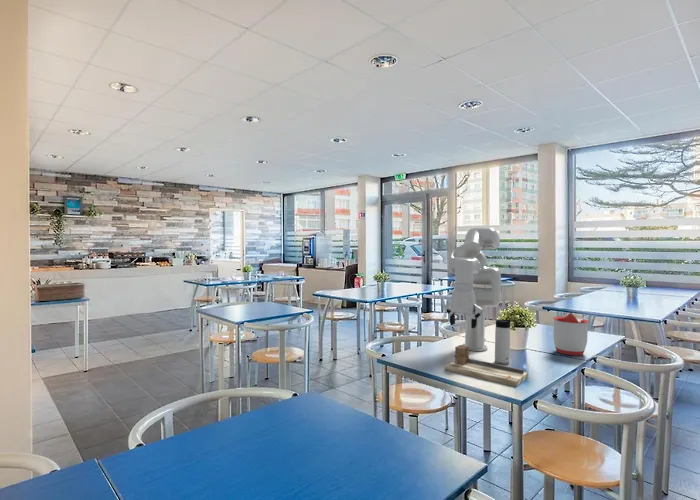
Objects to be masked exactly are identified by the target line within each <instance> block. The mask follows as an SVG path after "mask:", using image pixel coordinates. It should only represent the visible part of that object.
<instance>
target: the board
mask: <svg viewBox="0 0 700 500" xmlns="http://www.w3.org/2000/svg"><path fill="white" fill-rule="evenodd" d="M447 370H448V371H449V372H451V371H452V373H456V374H461V375H465V376H469V377H475V378H478V379H482V380H486V381H491V382H494V383H500V384H504V385H508V386H512V387H515V388H516V387H519V386H520V384H522V383H523V382H524V381H525V380H527V378H529V373H528V372H525V371H524V369H522V368H517V367H512V366H508V365H500V364H497V363H494V362H493V363H492V362H488V361H483V360H477V359H474V358H469V362H468V363H466V364H464V365H462V364H456V363H455V360H453V361H451V362H449V363H447V364H445V365H444V371H447Z"/></svg>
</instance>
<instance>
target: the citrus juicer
mask: <svg viewBox="0 0 700 500" xmlns="http://www.w3.org/2000/svg"><path fill="white" fill-rule="evenodd" d="M552 319H553V344H554V348H555V351H556V352H557V353H558V352H559V354H562V355H566V354H567V356H571V355H575V356H583V354H584V353H585V352H586V347H587V344H588V333H589V332H588V330H589V324H588V323H589V320H588V319H585V318H583V319H581V320H580V321H578V319H577V317H576V316H574V314H573V313H569V314H567V315H565V316H554V317H553V318H552Z"/></svg>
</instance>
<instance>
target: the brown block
mask: <svg viewBox="0 0 700 500" xmlns="http://www.w3.org/2000/svg"><path fill="white" fill-rule="evenodd" d="M469 351H470V350H469V346H464V345H462V344H460V345H457V346H455V349H454V353H455V354H454V361H455V363H456V364H462V365H464V364H466V363H468V362H469V359H470V357H469V356H470V355H469V354H470V353H469Z"/></svg>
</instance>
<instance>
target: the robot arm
mask: <svg viewBox="0 0 700 500" xmlns="http://www.w3.org/2000/svg"><path fill="white" fill-rule="evenodd" d="M500 243H501V239H500V236H499V233H498V231H497V230H496V229H495V228H493V227H472V228H470V229H469V230H468V231H467V232H466V235H465V237H464V241H463V244H461V245H459V246H458V247H456V248H454V249H453V250H452V251H451V253H450V254H449V258H448V261H447V270H448V272H449V273H451V274H454V275H455V276H454V283H452V284H451V286H452V287H454V289H453V290H452V291H451V292H452V293H451V299H450V302H449V303H447V304H444V308H445V310H446V311H445V312H446V313H448V316H449V324H450V326H453V325H455V324H456V316H455V314H462V315H465V332H464V333H465V335H464V343H463V344H461V345H464V346H469V351H471V352H472V351H473V352H485V351H487V350H488V346H487V345H485V342H486V341H487V340H486V338H485V330H486V329H485V327H486V322H485V321H486V315H485V312H484V309H483V308H482V307H487V308H497V307H499V305H500V302H501V288H502V287H501V285H502V274H501V270H500V268H497V267H492V266H491V267H489V266H487V263H488V262H487V256H486V255H485V253H484V252H483V251H482V250H497V249H498V248H499V246H500ZM481 286H485V287H481ZM487 286H489V287H487Z"/></svg>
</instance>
